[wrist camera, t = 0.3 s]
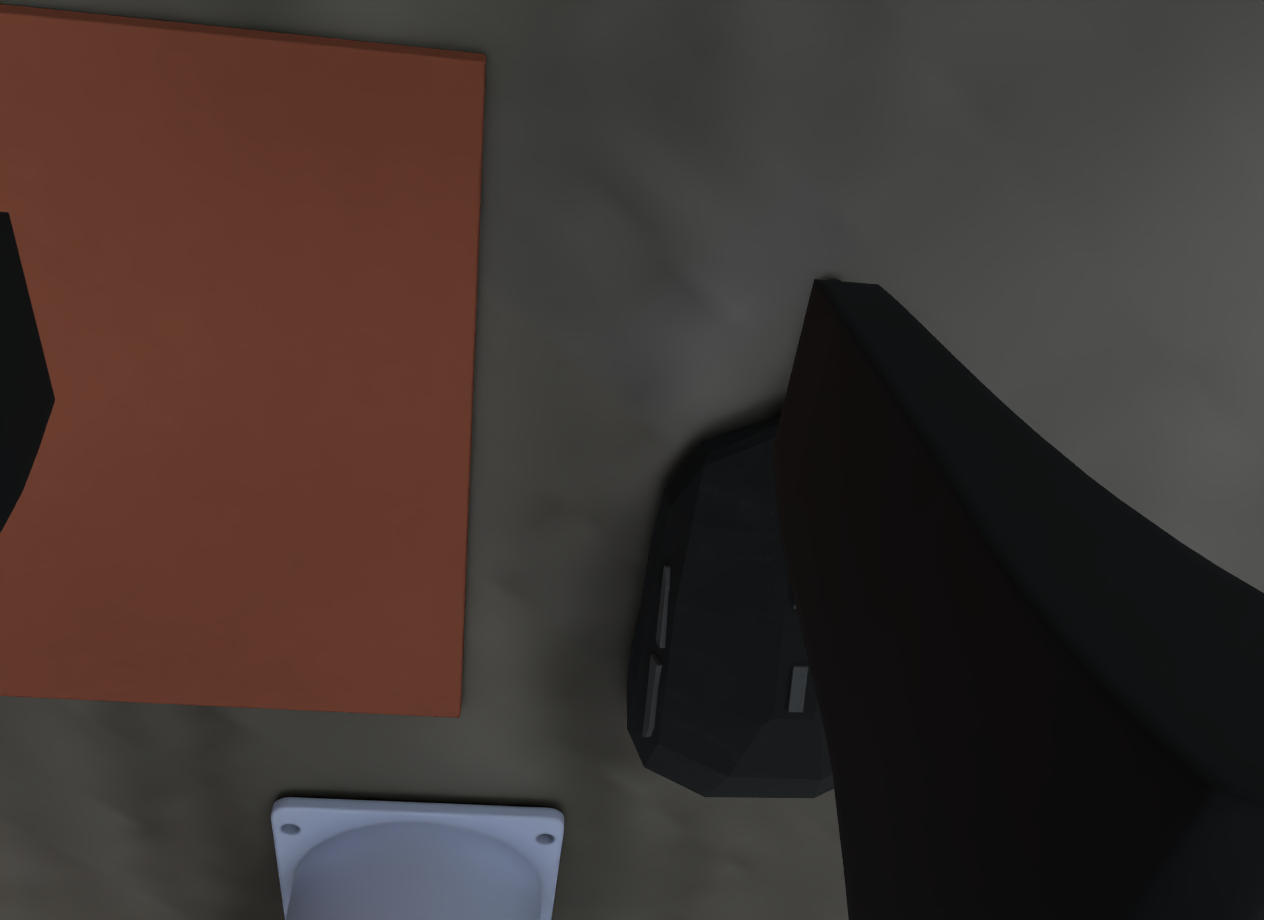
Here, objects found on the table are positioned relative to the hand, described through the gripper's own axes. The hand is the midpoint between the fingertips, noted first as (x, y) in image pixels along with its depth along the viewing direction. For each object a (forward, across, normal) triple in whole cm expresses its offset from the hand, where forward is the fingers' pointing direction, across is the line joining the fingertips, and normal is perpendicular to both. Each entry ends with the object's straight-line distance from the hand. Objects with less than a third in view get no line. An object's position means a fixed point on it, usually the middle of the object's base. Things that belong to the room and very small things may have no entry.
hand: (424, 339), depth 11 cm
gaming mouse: (+10, -7, +12) cm, 17 cm away
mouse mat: (+10, +10, +10) cm, 17 cm away
